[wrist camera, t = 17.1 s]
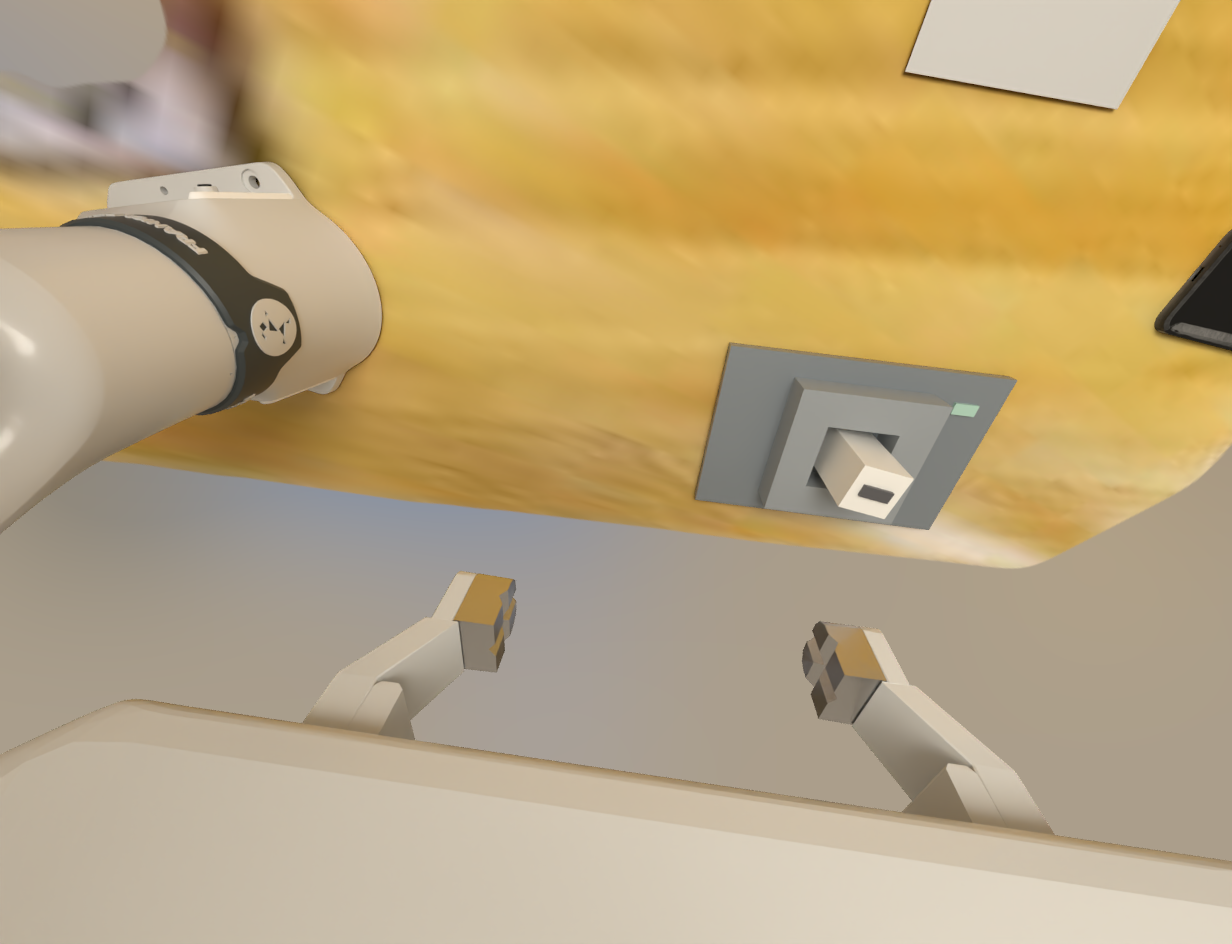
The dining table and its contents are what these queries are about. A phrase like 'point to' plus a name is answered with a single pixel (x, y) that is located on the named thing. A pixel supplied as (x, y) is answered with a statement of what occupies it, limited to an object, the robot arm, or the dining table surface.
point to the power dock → (767, 399)
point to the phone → (1204, 302)
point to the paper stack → (1041, 45)
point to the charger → (860, 472)
